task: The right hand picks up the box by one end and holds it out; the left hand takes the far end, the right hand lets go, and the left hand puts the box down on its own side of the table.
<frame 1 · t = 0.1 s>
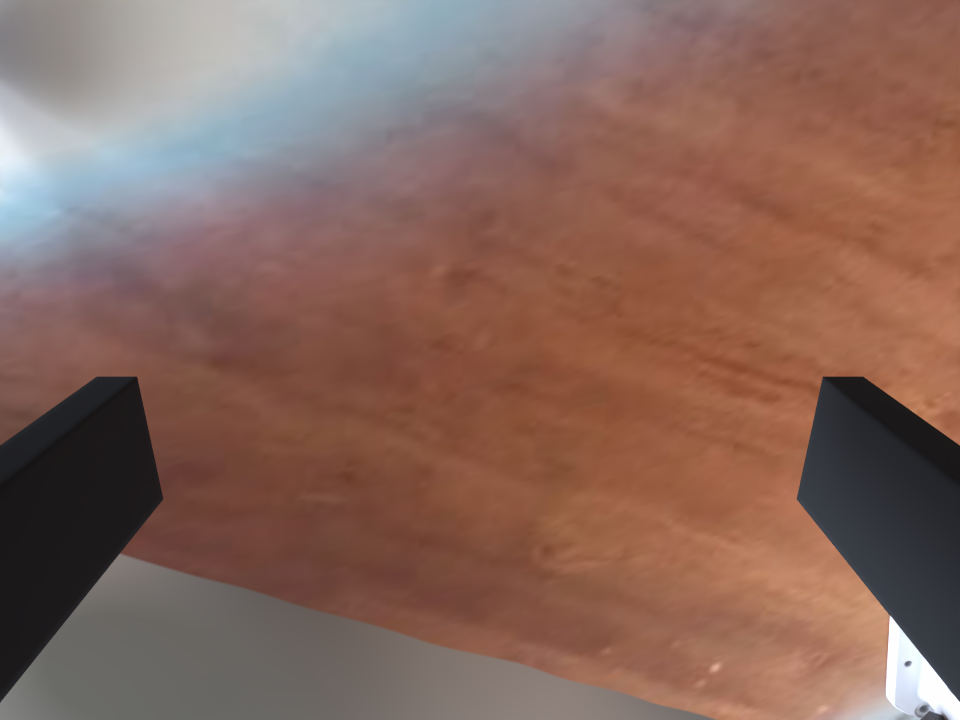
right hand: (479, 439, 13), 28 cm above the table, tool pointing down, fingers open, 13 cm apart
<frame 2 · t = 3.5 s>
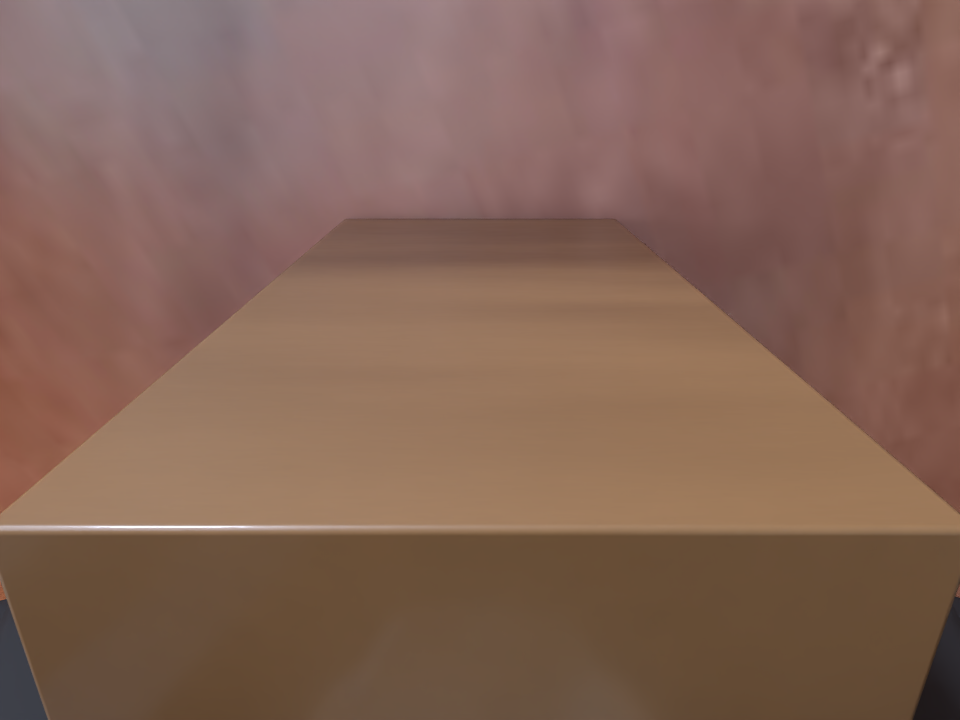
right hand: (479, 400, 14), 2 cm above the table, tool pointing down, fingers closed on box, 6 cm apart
box: (480, 636, 20), on the table, touching right hand
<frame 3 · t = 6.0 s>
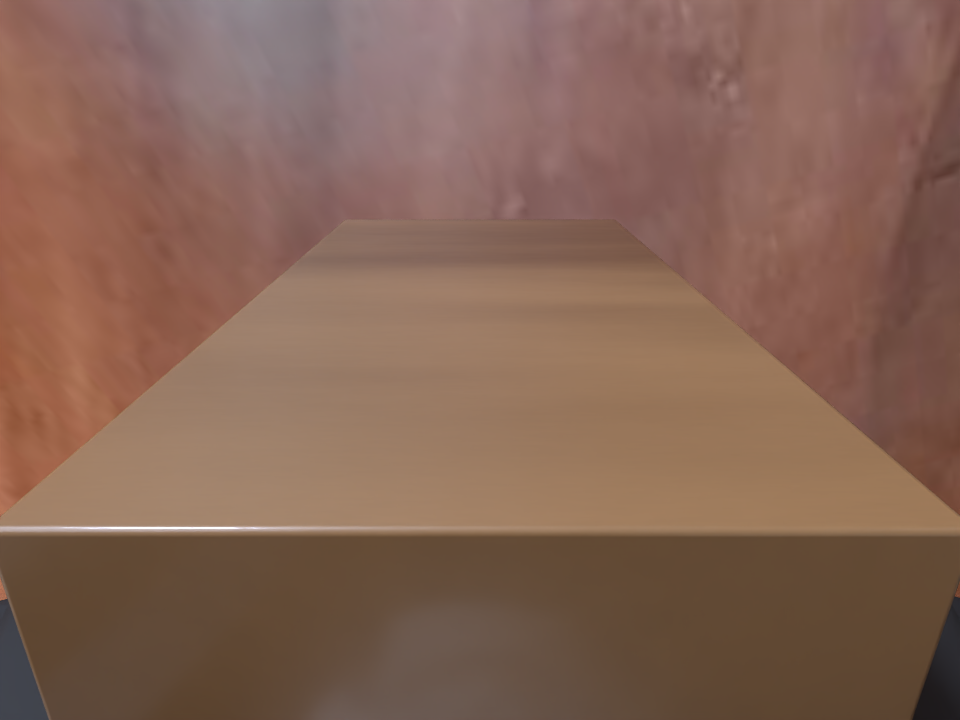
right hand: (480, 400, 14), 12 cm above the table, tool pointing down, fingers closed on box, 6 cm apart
box: (480, 636, 20), point 10 cm above the table, touching right hand
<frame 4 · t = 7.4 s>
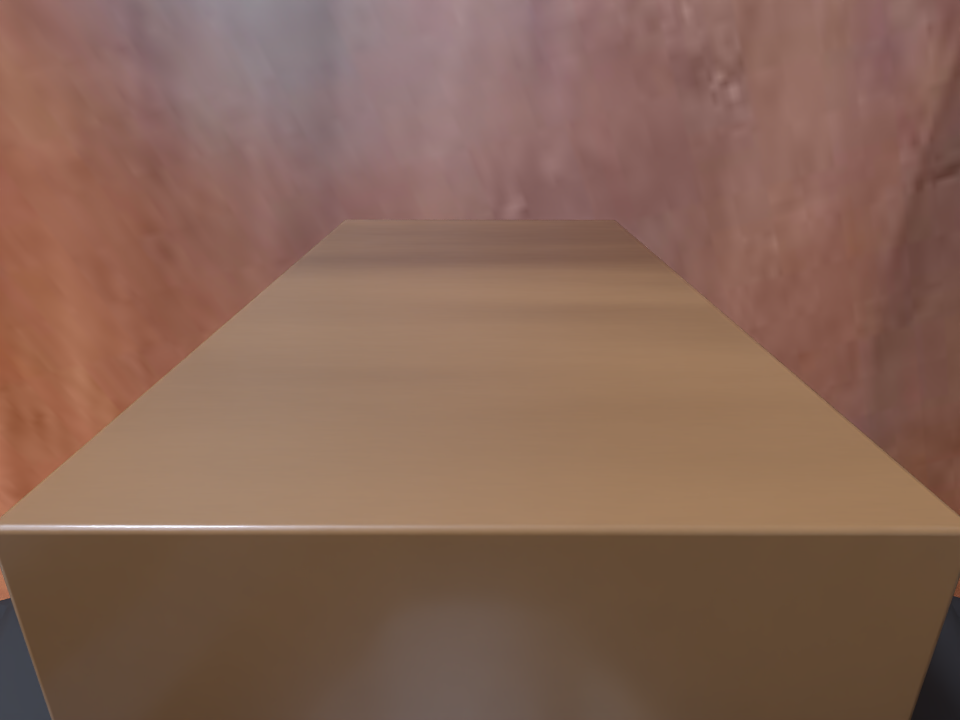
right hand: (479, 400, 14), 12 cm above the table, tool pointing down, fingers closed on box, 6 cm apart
box: (479, 636, 20), point 10 cm above the table, touching right hand, left hand
when the right hand's fingers open (12 cm above the table, at t = 8.6 s): box stays where it is, held by the left hand.
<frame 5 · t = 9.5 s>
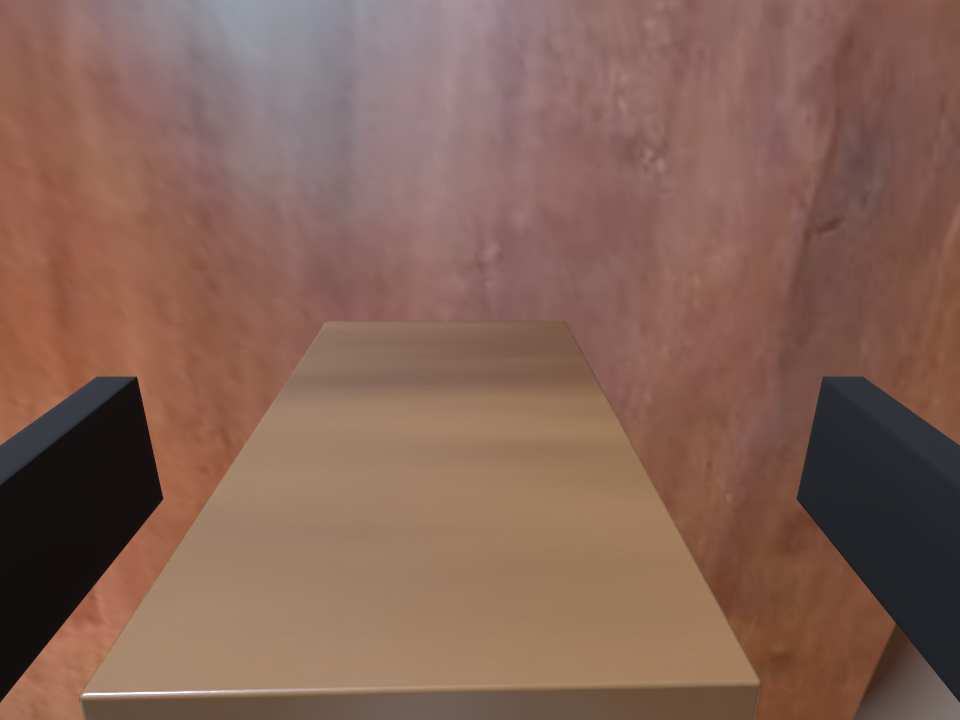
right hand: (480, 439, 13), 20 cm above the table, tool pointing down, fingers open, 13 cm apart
box: (449, 686, 21), point 15 cm above the table, touching left hand
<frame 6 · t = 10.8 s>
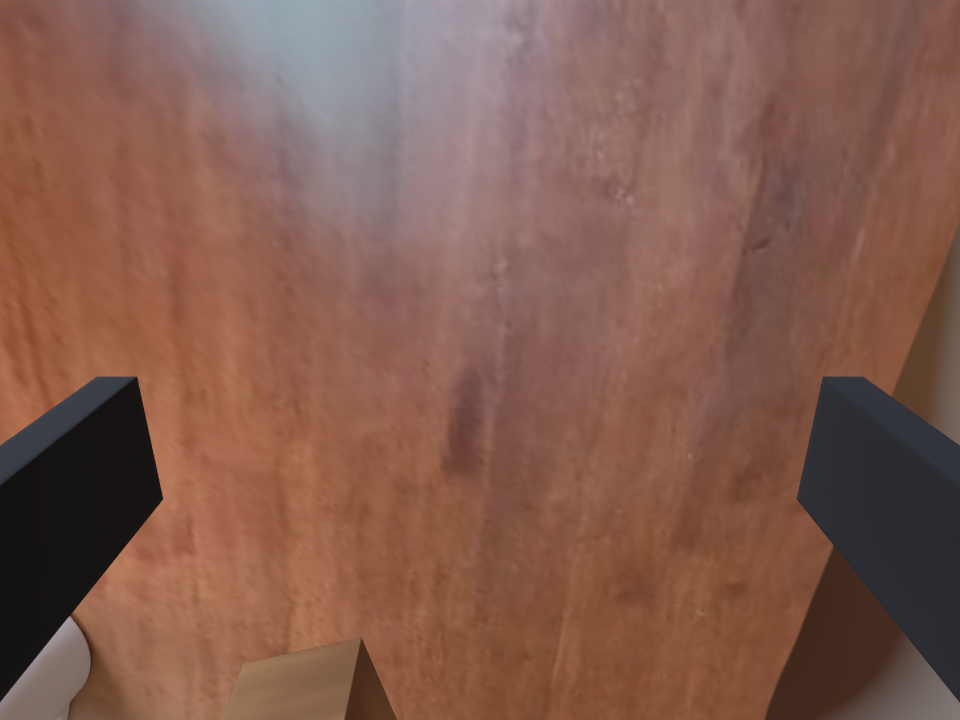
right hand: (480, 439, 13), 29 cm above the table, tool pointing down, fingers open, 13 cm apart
when the left hand's fingers open (8 cm above the table, at t = 14.0 s): box stays where it is, on the table.
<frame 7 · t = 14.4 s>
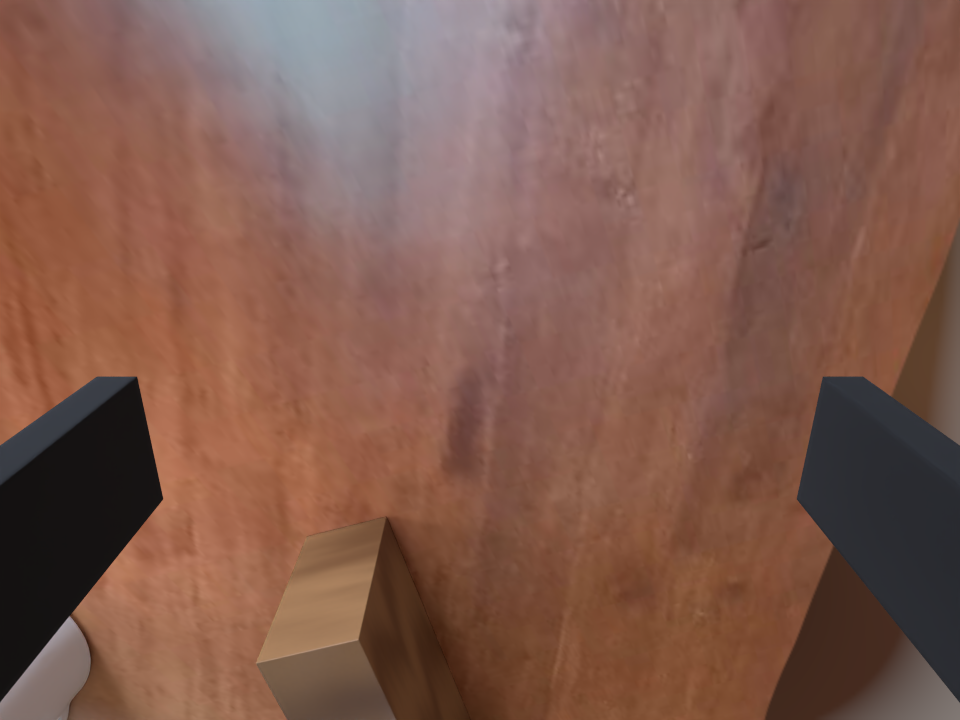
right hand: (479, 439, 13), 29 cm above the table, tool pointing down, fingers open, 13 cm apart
box: (401, 650, 53), on the table
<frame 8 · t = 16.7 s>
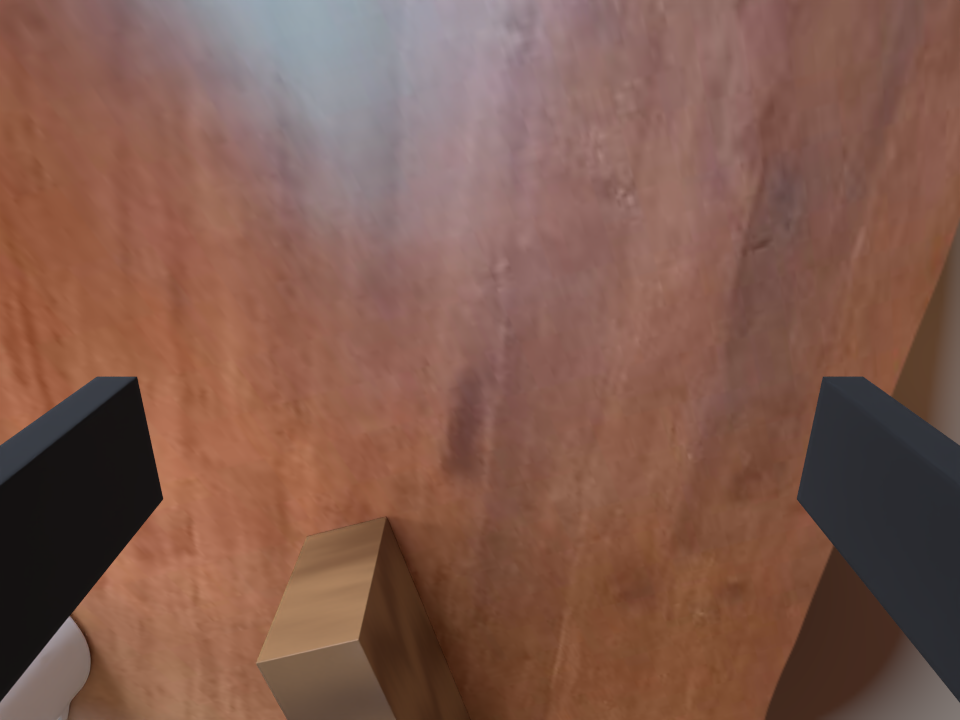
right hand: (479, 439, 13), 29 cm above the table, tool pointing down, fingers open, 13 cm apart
box: (401, 650, 53), on the table
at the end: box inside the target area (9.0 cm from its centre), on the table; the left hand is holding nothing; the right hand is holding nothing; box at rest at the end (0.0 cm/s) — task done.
